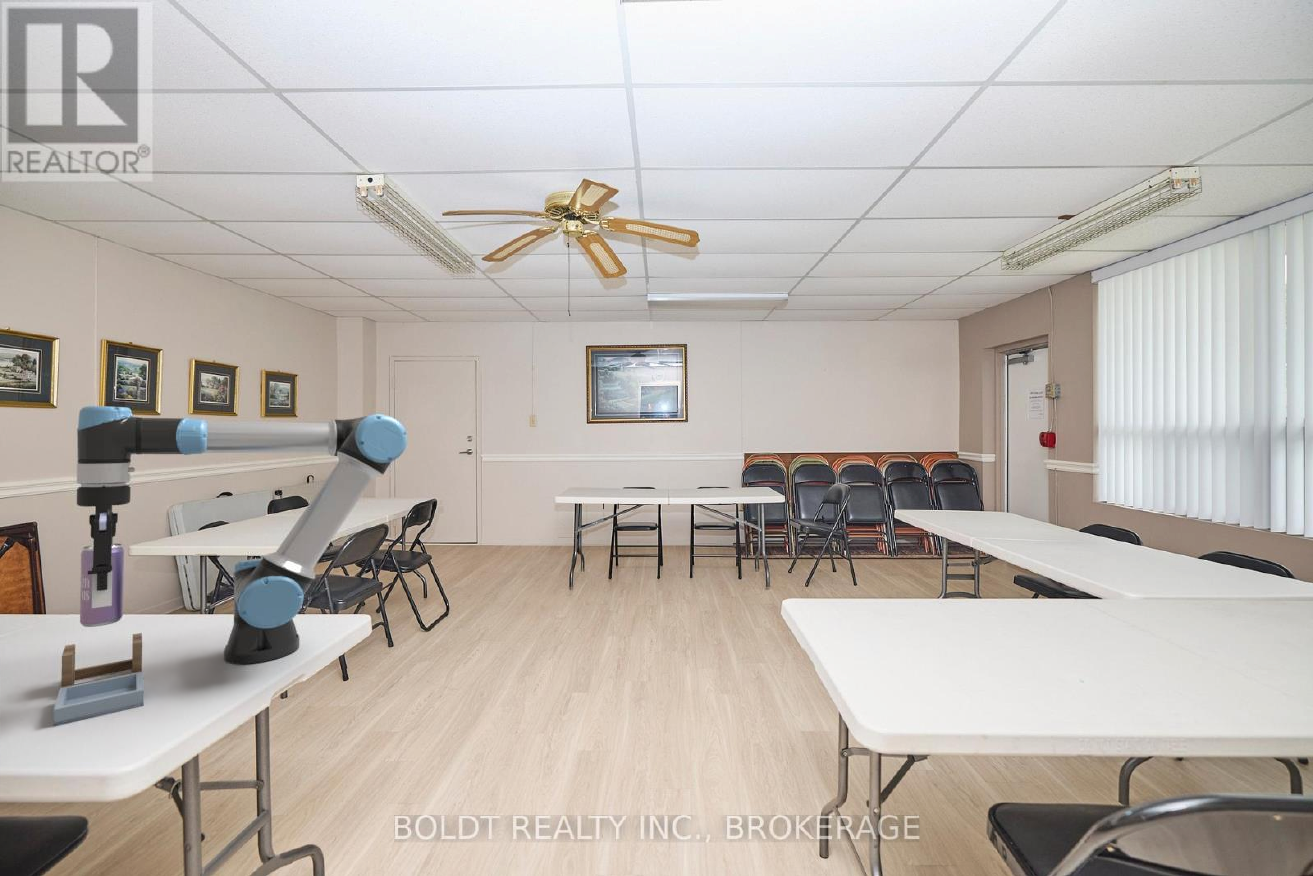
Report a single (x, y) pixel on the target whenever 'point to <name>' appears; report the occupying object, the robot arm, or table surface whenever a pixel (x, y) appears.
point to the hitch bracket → (72, 675)
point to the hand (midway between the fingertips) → (102, 602)
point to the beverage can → (87, 613)
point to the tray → (99, 698)
